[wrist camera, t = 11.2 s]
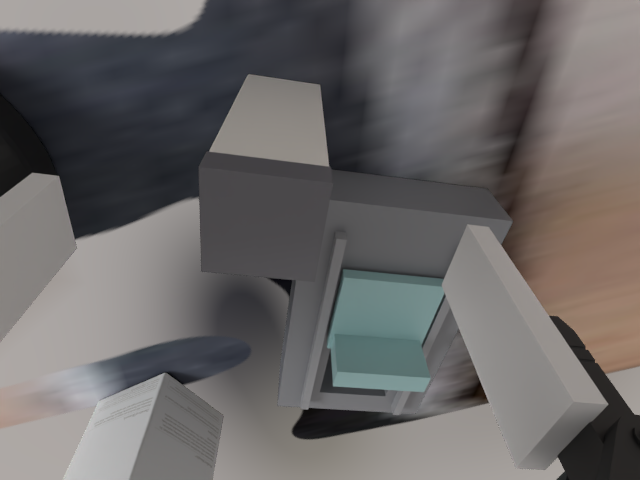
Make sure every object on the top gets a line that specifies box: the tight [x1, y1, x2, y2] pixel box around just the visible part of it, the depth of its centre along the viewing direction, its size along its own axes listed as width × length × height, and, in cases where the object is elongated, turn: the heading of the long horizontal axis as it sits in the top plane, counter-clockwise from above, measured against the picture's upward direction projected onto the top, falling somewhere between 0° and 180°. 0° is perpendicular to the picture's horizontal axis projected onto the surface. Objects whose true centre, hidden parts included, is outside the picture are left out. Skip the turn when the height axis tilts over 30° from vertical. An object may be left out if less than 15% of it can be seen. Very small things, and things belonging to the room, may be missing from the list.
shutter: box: [327, 269, 444, 392], centre depth 25 cm, size 6×6×4 cm
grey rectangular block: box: [199, 74, 333, 282], centre depth 18 cm, size 4×4×12 cm
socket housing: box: [277, 169, 513, 415], centre depth 29 cm, size 12×20×5 cm, turn 172°
